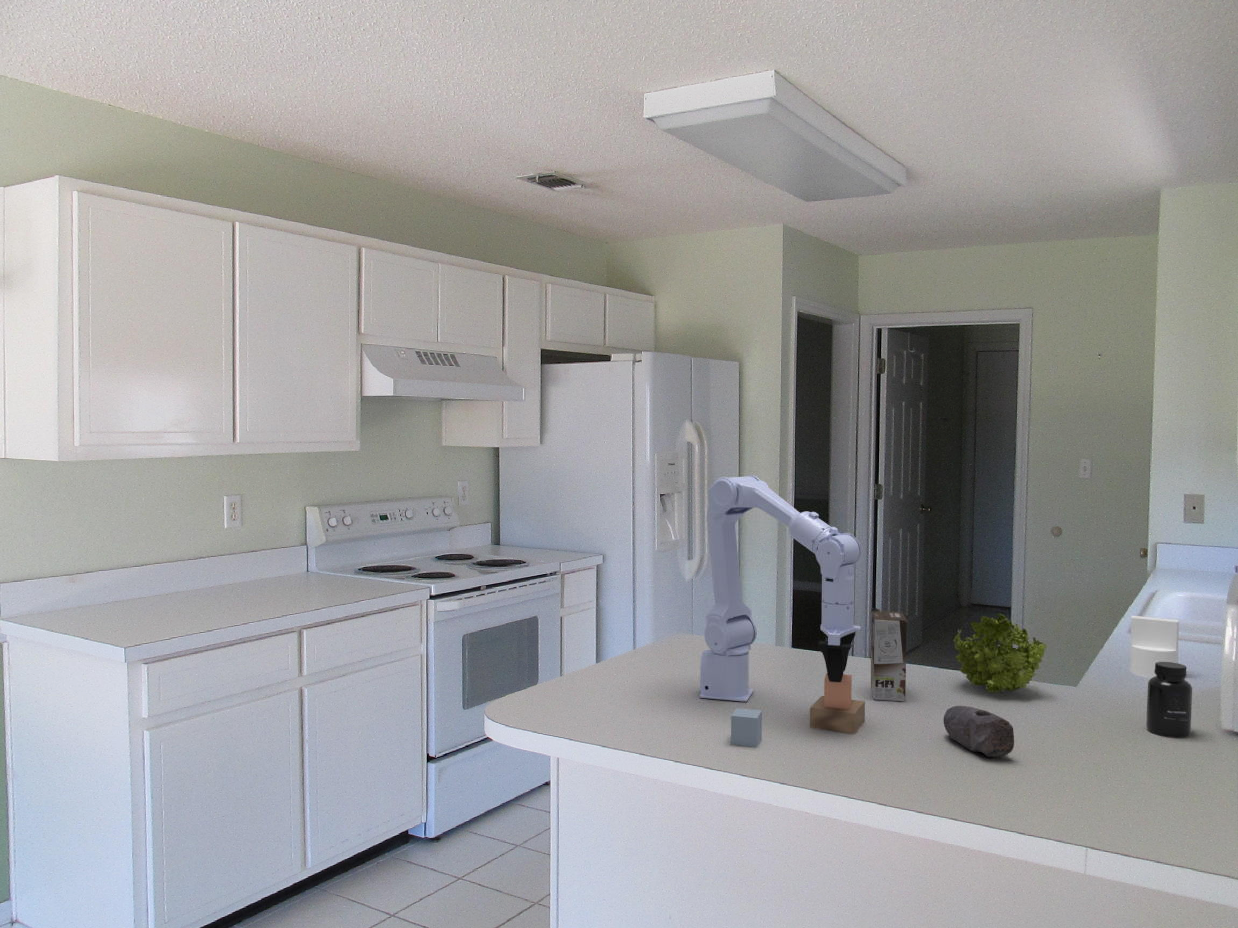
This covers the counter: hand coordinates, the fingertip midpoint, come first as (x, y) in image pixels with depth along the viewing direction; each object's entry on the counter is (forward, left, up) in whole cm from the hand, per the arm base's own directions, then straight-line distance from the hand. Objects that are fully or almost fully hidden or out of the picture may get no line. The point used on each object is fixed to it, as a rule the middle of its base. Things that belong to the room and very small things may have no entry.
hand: (837, 675), depth 173 cm
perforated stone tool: (+23, -6, -9) cm, 26 cm away
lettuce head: (+28, +32, -9) cm, 43 cm away
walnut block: (0, 0, -9) cm, 9 cm away
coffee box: (+8, +22, -9) cm, 25 cm away
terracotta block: (0, 0, -5) cm, 5 cm away
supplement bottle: (+56, +13, -9) cm, 58 cm away
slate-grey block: (-14, -14, -9) cm, 22 cm away
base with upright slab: (+62, +55, -9) cm, 83 cm away
